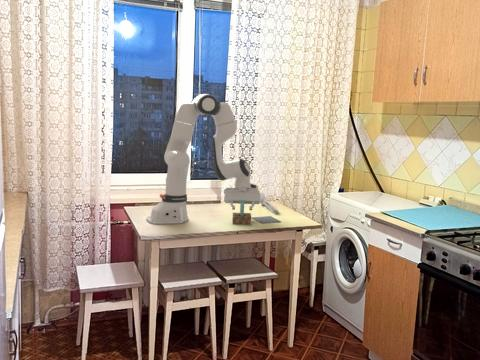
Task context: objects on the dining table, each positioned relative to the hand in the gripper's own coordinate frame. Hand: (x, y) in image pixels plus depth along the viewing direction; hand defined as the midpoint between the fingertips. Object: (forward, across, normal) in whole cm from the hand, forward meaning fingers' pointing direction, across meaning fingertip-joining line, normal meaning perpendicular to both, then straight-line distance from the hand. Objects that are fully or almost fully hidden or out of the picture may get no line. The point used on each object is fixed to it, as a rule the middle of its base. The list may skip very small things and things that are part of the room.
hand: (242, 209), depth 252 cm
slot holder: (+5, 0, +6) cm, 7 cm away
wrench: (-19, +17, +30) cm, 40 cm away
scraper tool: (+5, 0, +6) cm, 7 cm away
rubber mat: (0, +14, +10) cm, 17 cm away
